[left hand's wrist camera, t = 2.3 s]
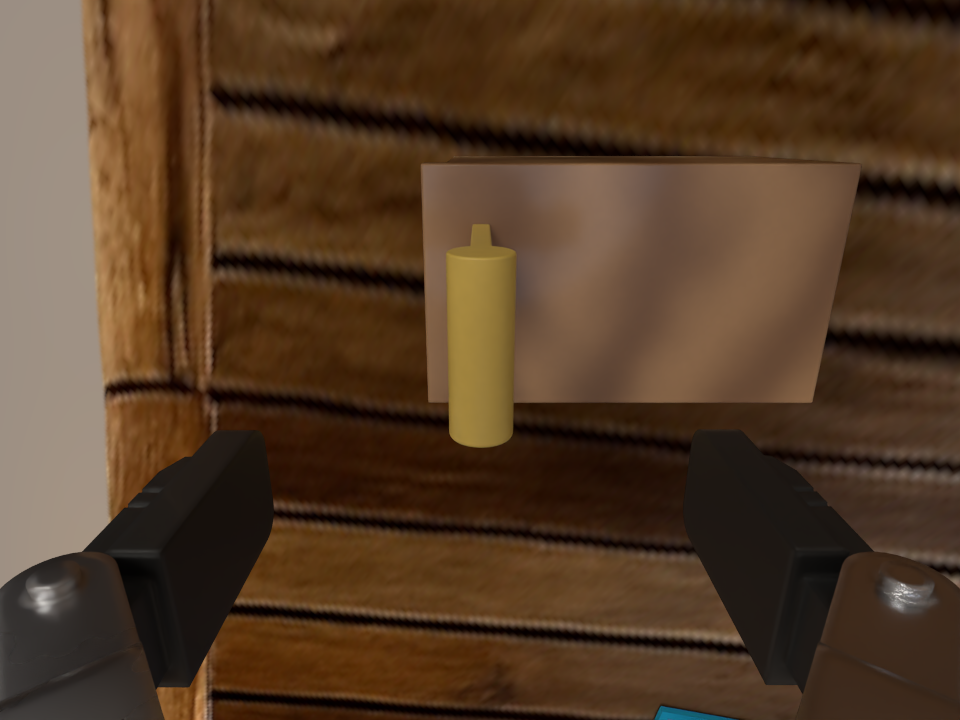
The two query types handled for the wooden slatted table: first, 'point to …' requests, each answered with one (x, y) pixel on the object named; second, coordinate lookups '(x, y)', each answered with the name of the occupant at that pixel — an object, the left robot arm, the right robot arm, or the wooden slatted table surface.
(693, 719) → the model building
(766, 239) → the lid
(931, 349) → the wooden slatted table surface
